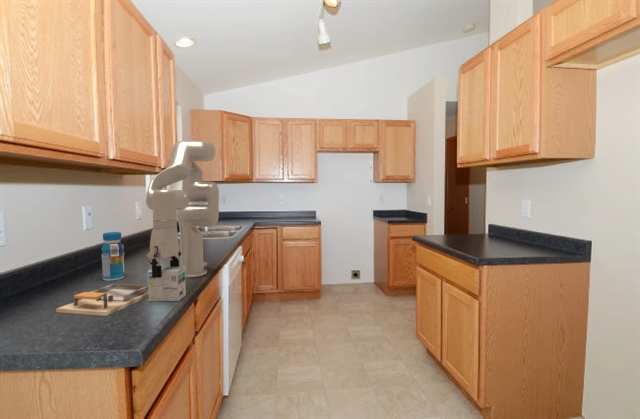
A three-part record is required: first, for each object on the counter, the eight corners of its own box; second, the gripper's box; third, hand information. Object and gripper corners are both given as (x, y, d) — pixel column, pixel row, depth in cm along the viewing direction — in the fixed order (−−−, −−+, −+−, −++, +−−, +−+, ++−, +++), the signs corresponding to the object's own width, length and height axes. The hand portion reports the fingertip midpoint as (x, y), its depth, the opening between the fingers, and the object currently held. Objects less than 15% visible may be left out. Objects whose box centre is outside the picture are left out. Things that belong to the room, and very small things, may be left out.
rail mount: (112, 291, 125) (111, 276, 125) (154, 293, 122) (154, 278, 121) (56, 312, 103) (55, 294, 103) (106, 316, 100) (105, 297, 100)
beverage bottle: (97, 281, 139) (95, 234, 138) (109, 276, 147) (107, 231, 146) (118, 281, 139) (116, 234, 138) (129, 275, 147) (127, 231, 146)
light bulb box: (186, 295, 120) (185, 266, 119) (179, 301, 113) (178, 270, 112) (156, 295, 119) (155, 266, 119) (147, 302, 113) (146, 270, 112)
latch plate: (85, 294, 108) (84, 291, 107) (106, 295, 106) (106, 293, 106) (73, 298, 104) (73, 295, 104) (95, 299, 102) (95, 297, 102)
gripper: (170, 223, 124) (171, 268, 124) (137, 227, 107) (138, 279, 107) (189, 223, 122) (190, 269, 123) (158, 227, 105) (159, 280, 106)
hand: (166, 274), depth 115 cm, fingers open, 9 cm apart
